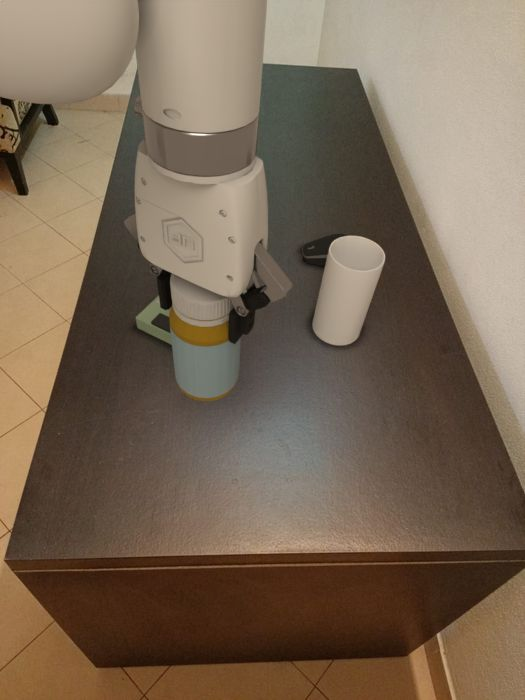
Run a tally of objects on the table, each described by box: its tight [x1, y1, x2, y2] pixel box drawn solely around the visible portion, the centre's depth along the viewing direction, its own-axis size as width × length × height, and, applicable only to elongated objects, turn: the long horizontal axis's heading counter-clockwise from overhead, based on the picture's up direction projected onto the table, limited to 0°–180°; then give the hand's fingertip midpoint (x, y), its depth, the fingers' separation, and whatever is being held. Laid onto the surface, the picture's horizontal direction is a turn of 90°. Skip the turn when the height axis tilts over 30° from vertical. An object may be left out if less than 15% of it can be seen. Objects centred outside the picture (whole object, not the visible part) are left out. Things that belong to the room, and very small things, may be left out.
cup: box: [311, 235, 386, 346], centre depth 74 cm, size 8×8×16 cm
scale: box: [135, 290, 247, 346], centre depth 79 cm, size 16×12×3 cm
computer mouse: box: [301, 233, 350, 267], centre depth 90 cm, size 7×12×4 cm, turn 91°
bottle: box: [169, 273, 242, 402], centre depth 47 cm, size 7×7×15 cm
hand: (205, 316), depth 45 cm, fingers closed on bottle, 7 cm apart
